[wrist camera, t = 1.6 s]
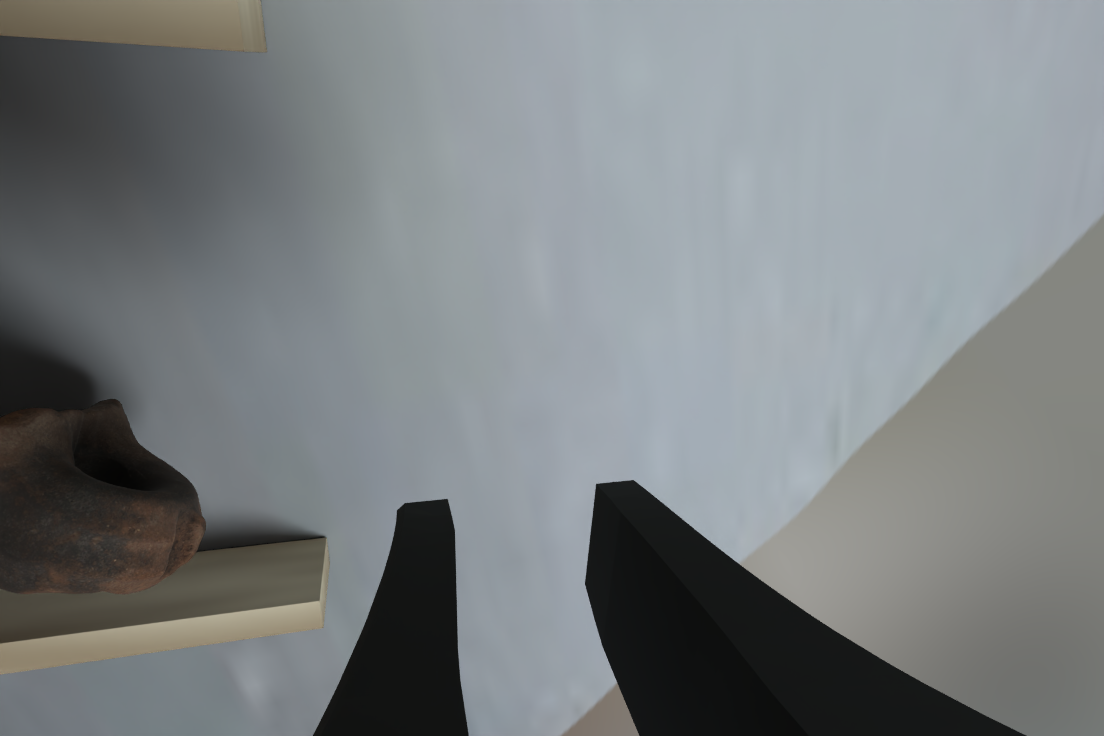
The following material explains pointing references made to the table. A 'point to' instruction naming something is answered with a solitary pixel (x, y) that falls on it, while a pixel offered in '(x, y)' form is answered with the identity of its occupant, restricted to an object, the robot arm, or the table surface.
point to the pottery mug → (89, 505)
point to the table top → (210, 576)
